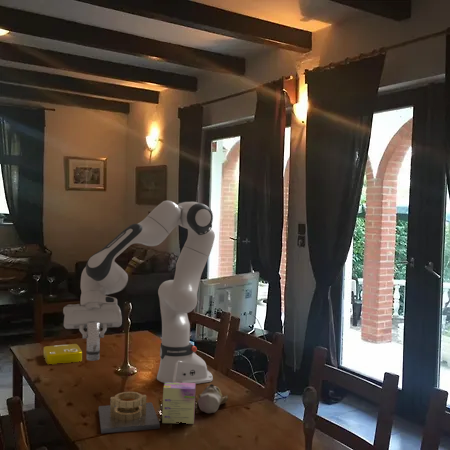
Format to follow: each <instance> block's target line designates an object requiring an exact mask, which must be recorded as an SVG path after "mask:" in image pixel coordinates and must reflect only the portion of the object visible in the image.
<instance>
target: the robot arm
mask: <svg viewBox="0 0 450 450" xmlns="http://www.w3.org/2000/svg"><path fill="white" fill-rule="evenodd" d="M213 214H214V213H213V211H212V210H211V208H210V207H209V206H208V205H206V204H204V203H200V202H197V201H186V200H185V201H181V202H180V201H179V202H177V203H176V202H174V201H172V200H163V201H162V202H160V203H159V204H158V205H157V206H155V207H154V209H152V210H151V211H150V212H149V213H148V214H147V216H146V217H144V218H143V220H141V221H140V222H138V223H132V224H130V225H129V226H127V227H126V228H125V229H123V230H122V231H121V232H120V233H118V235H116V236H115V237H114V238H113V239H111V241H110V242H109V243H107V244H106V245H105V246H104V247H102V248H101V249H100V250H98V251H97V252H94V254H92V255H90V257H89V258H88V260H87V262H86V265H85V267H84V268H83V270H82V271H81V276H80V290H81V294H80V303H77V304H67V305H65V306H64V307H62V308H63V309H62V310H63V311H62V313H63V315H64V317H63V327H64V328H65V329H67V330H72V329H79V332H80V333H81V335H82V339H87V331H85V330H84V329H87V322H89V321H99V322H100V329H101V328H102V330H100V339H102V338H103V339H104V337H105V333H106V332H107V329H108V328H119V327H121V326H122V324H123V323H122V322H123V316H122V311H121V308H120V306H119V305H118V299H117V298H116V297H114V296H108V295H112V294H117V293H119V292H122V291H123V290H125V288H126V287H127V284H128V282H129V276H128V275H129V274H128V272H126V271H125V269H123V267H121V265H119V264H118V263H117V262H116V261H115V260H116V258H117V257H119V256H120V255H121V254H122V253H123V252H124V251H125V250H126V249H127V248H129V247H130V246H131V245H133V244H141V245H144V246H146V247H147V246H148V247H156V246H158V245H160V244H162V242H163V243H164V241H165V240H166V239H167V237H168V236H169V235H170V234H171V232H172V231H173V230H174V229H176V228H177V227H181V228H183V229H187V238H186V241H185V243H184V245H183V247H182V249H181V251H180V254H179V256H178V258H177V260H176V262H175V273H174V277H173V279H169V280H165V281H163V282H162V283H161V284H160V285H159V288H158V290H157V294H158V300H159V307H160V317H161V343H160V347H159V348H160V349H159V357H160V363H159V368H158V371H157V376H156V380H157V381H159V382H161V383H163V384H165V382H171V383H195V385H197V384H205V383H211V382H212V381H213V380H214V379H213V374H212V373H211V371H209V370H208V367H207V363H206V361H205V360H204V359H203V358H202V357H200V356H199V355H197V353H196V352H198V350H197V349H198V348H197V346H195V345H194V344H192V343H191V342H190V331H191V329H190V328H191V325H190V324H191V323H190V320H189V316H188V313H191V312H192V311H194V309H196V307H197V305H198V290H199V286H200V282H201V277H202V274H203V271H204V269H205V267H206V265H207V262H208V259H209V258H210V254H211V252H212V250H213V245H214V242H215V232H214V230H213V229H212V228H213V219H214V215H213Z"/></svg>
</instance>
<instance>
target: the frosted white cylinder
mask: <svg viewBox="0 0 450 450" xmlns="http://www.w3.org/2000/svg"><path fill="white" fill-rule="evenodd" d="M100 331H101V328H100V322H99V321H89V322H87V328H86V332H87V338H86V361H91V362H92V361H93V362H95V361H99V360H100V353H101V350H100V345H101V344H100V343H101V341H100V339H101V338H100Z"/></svg>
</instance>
